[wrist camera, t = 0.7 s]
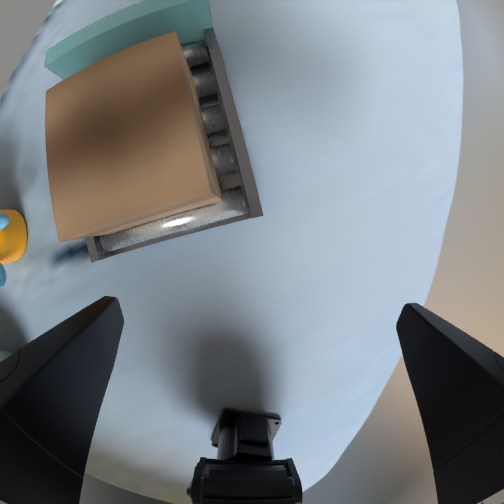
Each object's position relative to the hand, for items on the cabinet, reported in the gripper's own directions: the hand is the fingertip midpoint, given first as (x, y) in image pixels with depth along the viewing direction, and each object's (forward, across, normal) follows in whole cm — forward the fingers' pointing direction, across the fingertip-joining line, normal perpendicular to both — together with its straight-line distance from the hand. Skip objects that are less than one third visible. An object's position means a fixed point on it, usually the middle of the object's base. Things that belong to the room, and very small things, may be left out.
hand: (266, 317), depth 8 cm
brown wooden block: (+14, +8, -3) cm, 16 cm away
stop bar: (+21, +11, -12) cm, 27 cm away
